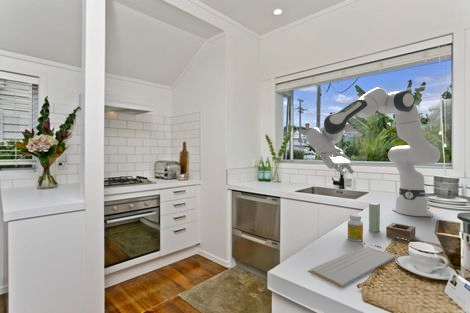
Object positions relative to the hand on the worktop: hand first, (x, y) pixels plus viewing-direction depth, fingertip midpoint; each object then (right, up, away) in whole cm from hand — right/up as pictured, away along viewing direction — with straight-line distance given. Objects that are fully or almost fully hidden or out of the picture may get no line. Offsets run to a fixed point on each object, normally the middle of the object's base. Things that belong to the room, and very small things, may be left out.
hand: (348, 173), depth 114 cm
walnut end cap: (+14, -25, -16) cm, 33 cm away
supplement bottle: (-7, -25, -19) cm, 32 cm away
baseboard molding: (-18, -26, -40) cm, 51 cm away
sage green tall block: (+7, -25, -8) cm, 27 cm away
